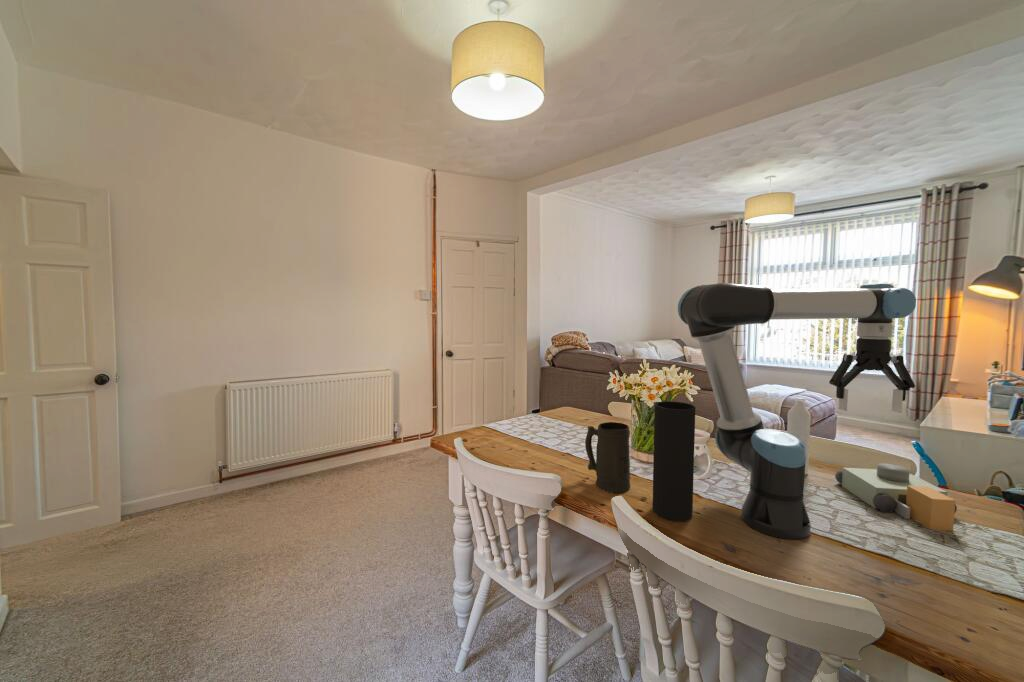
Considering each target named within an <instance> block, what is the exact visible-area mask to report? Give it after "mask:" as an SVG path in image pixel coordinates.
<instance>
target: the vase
mask: <svg viewBox="0 0 1024 682" xmlns="http://www.w3.org/2000/svg"><path fill="white" fill-rule="evenodd" d="M653 411H654V417H653V419H654V420H653V421H654V422H653V458H652V459H653V462H652V463H653V464H652V465H653V467H652V468H653V469H652V506H651V507H652V508H651V509H652V512H653V513H654V514H655V515H656V516H658V517H660V519H662V520H667V521H670V522H674V523H675V522H677V523H682V522H687V520H688V521H689V520H690V519H691V520H692V518H693V511H694V509H693V508H694V507H693V505H694V472H695V469H694V468H695V467H694V466H695V433H696V406H695V405H694V404H691V403H686V402H682V401H673V400H669V401H668V400H667V401H665V400H664V401H657V402H655V403H654V410H653Z"/></svg>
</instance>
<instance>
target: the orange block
mask: <svg viewBox="0 0 1024 682" xmlns="http://www.w3.org/2000/svg"><path fill="white" fill-rule="evenodd" d="M955 504H956V499H954V498H951V497H950V496H948V495H947V496H946V495H944V494H942V493H940V492H938V491H936V490H934V489H932V488H930V487H924V486H907V496H906V506H908V507H910V518H911V517H912V518H911V519H913V520H914V519H915V520H914V521H916V520H917V521H916V522H917V523H919V522H920V523H919V524H921V525H922V524H923V525H922V526H924V525H925V526H924V527H926V528H927V527H928V528H927V529H929V530H933V529H938V530H937V531H947V530H953V531H954V523H955V514H954V511H955Z"/></svg>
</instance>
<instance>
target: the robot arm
mask: <svg viewBox="0 0 1024 682" xmlns="http://www.w3.org/2000/svg"><path fill="white" fill-rule="evenodd" d="M916 297H917V296H916V295H915V294H914V292H913V291H911V290H910V289H909V288H905V287H895V286H894V285H893V284H891V283H865V284H862V285H860V287H859V288H815V289H814V288H807V289H806V288H798V289H797V288H794V289H793V288H792V289H791V288H784V289H779V288H777V289H772V288H771V287H769V286H768V285H757V284H756V285H753V284H752V285H751V284H741V283H740V284H738V283H730V282H729V283H728V282H721V283H719V282H717V283H713V284H701V285H697V286H693V287H692V288H689V289H688V290H686V291H685V292H684V293H683V294H682V295H681V296H680V299H679V300H678V304H677V313H678V317H679V318H680V320H681V321H682V322H683V323H684V324H685V325H687V326H688V330H689V333H690V336H691V338H692V339H695V340H696V341H698V343H699V346H700V351H701V354H702V357H703V360H704V365H705V367H706V368H705V369H706V371H707V375H708V378H709V381H710V385H711V389H712V391H713V395H714V399H715V403H716V407H717V409H718V413H719V416H720V417H719V418H718V419H717V421H716V426H717V430H716V431H715V434H714V440H715V444H716V447H717V449H718V450H719V451H720V453H722V455H723V456H725V457H726V458H727V459H728V460H730V461H732V462H733V463H735V464H737V465H738V466H740V467H741V468H743V469H745V470H746V471H748V472H750V479H749V481H750V483H749V491H748V493H747V496H746V497H745V499H744V502H743V504H742V507H741V513H740V514H741V515H740V516H741V519H742V521H743V522H744V523H745V524H746V525H747V526H749V527H750V528H752V529H754V530H755V531H758V532H760V533H763V534H765V535H768V536H772V537H775V538H780V539H788V540H800V539H801V540H802V539H806V538H807V537H809V536H810V534H811V527H812V526H811V525H812V524H811V521H810V517H809V514H808V511H807V508H806V505H805V502H804V490H805V477H806V476H805V463H806V454H805V446H804V444H803V442H802V441H801V440H800V439H798V438H797V437H795V436H793V435H791V434H788V433H787V432H786V431H785V432H782V431H781V430H776V429H770V428H769V429H768V428H765V427H764V425H763V424H764V423H763V420H762V417H761V415H759V414H757V413H755V412H754V411H753V407H752V404H751V400H750V397H749V394H748V393H749V392H748V390H747V385H746V382H745V378H744V375H743V371H742V368H741V364H740V361H739V356H738V353H737V350H736V345H735V343H734V338H733V335H732V333H733V331H734V329H735V328H736V327H738V326H744V325H745V326H746V325H756V324H763V325H764V324H766V323H769V321H771V320H821V319H822V320H827V319H829V320H830V319H835V320H836V319H857V328H856V336H857V337H859V338H857V339H856V344H855V345H856V346H855V349H856V350H855V351H856V353H855V355H853V354H850V353H844V354H843V356H842V361H841V363H839V365H838V367H837V369H836V370H835V372H834V373H833V375H832V376H831V378H830V380H829V382H828V383H829V384H830V385H832V386H835V387H836V390H835V391H836V394H835V396H836V398H837V399H838V409H839V410H842V411H845V412H847V411H848V397H849V388H848V387H847V386H848V385H849V384H850V383H851V382H852V381H854V379H855V378H857V377H858V375H860V374H861V373H863V372H864V371H876V372H877V371H879V372H880V371H881V372H882V373H883V374H884V375H885V376H886V377H887V378H888V380H889V381H890V382H891V383H892V384H893V385H894V386H895V387H896V388H893V389H892V398H891V399H892V403H891V411H892V412H895V413H897V414H901V413H903V402H905V401H906V395H907V392H908V391H909V390H910V389H914V388H916V385H915V382H914V380H913V378H912V376H911V375H910V373H909V371H908V369H907V367H906V365H905V363H904V361H905V360H904V356H903V355H900V354H893V355H891V354H890V353H891V351H892V339H890V338H891V337H892V332H893V331H892V330H893V320H894V319H903V318H906V317H908V316H910V315H911V314H913V312H914V310H915V309H916V306H917V305H916V304H917V299H916ZM853 362H856V363H855V364H854V365H853V366H852V368H851V369H850V370H849V368H850V367H851V365H852V363H853ZM890 362H891V363H892V364H893V366H894V369H895V371H896V372H897V374H898V375H897V374H896V373H895V371H893V369H892V367H891V366H890V365H889V363H890ZM848 370H849V371H848Z"/></svg>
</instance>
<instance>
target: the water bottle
mask: <svg viewBox="0 0 1024 682" xmlns="http://www.w3.org/2000/svg"><path fill="white" fill-rule="evenodd" d="M805 402H806V398H805V397H801V396H799V397H796V400H795V402H794V403H795V404H794V405H793V406H792V407H791V408H790V409H789V410H788V412H787V423H786V424H787V426H786V428H787V430H786V433H788V434H791V435H793V436H795V437H797V438H798V439H800V440H801V441H802V442H803V444H804V446H805V454H806V463H805V475H808V474H809V464H810V463H809V461H810V460H809V459H810V454H809V453H810V442H811V438H810V436H811V435H810V434H811V418H812V416H811V413H810V411H809V410H808V408H807V407H806V405H805Z"/></svg>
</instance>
